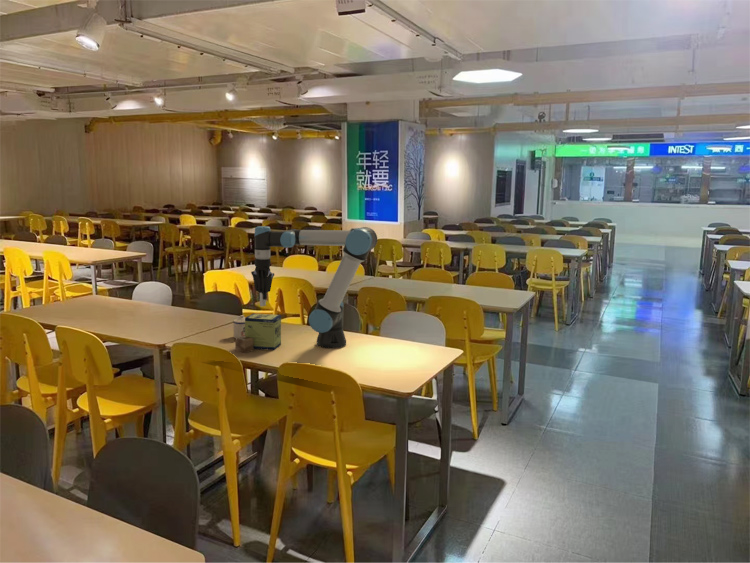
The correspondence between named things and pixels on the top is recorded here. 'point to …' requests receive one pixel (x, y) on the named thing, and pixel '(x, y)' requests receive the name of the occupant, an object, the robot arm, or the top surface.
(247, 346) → the numbered walnut block
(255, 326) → the protein box
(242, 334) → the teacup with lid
